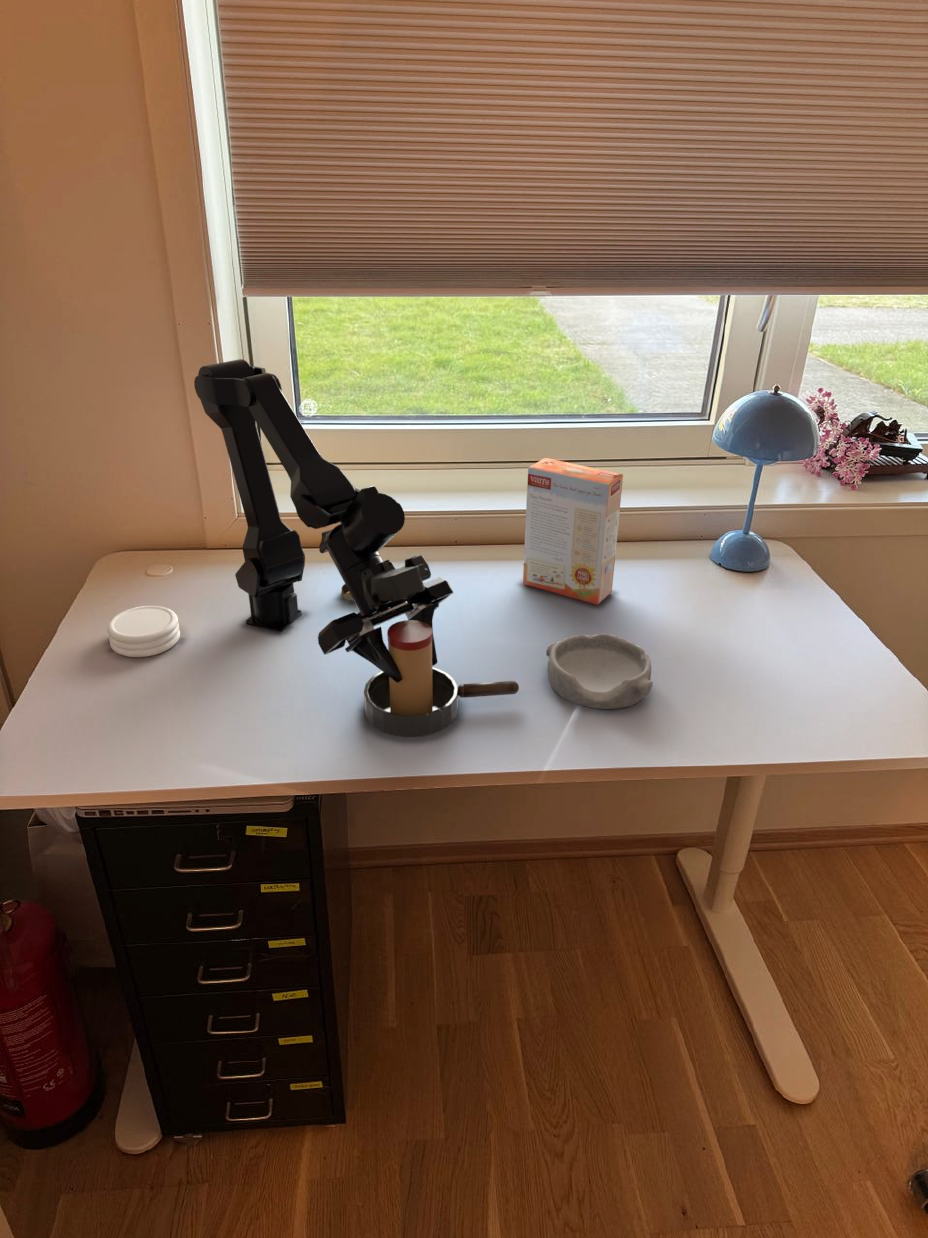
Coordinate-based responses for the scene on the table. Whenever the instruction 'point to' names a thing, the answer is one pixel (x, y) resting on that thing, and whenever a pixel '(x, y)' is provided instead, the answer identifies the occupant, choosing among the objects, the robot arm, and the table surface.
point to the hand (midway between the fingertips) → (417, 672)
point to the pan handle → (487, 689)
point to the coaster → (143, 631)
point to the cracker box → (571, 529)
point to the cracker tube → (411, 667)
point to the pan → (411, 724)
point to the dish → (599, 671)
